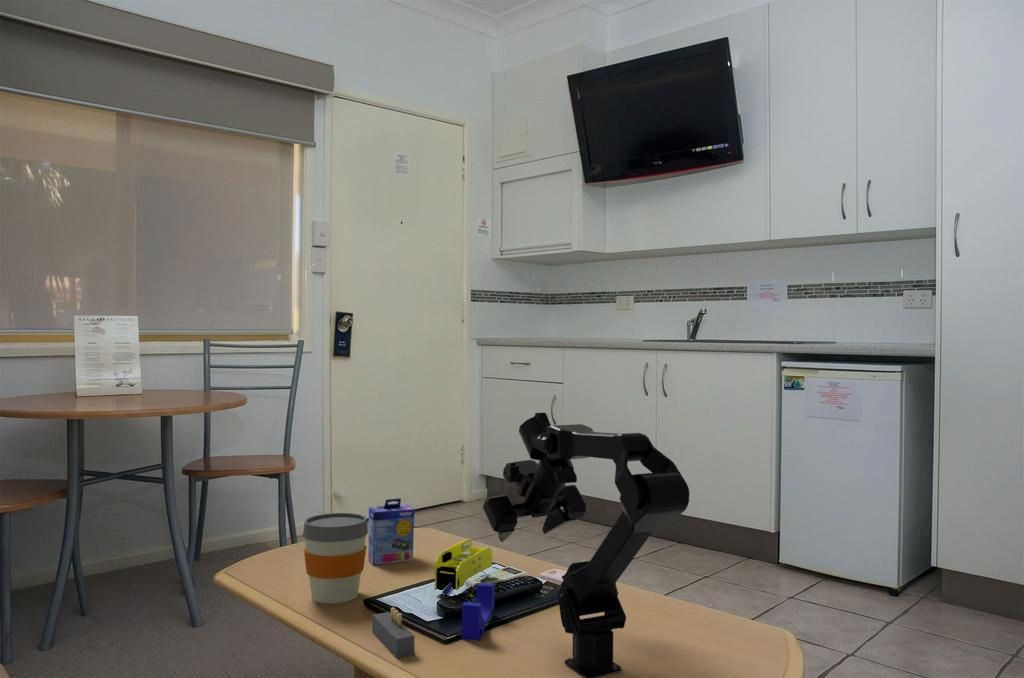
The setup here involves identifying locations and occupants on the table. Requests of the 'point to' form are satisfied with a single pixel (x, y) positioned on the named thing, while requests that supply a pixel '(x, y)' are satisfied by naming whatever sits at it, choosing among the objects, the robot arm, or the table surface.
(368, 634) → the table surface
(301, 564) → the table surface
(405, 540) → the ink cartridge box
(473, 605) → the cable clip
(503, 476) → the robot arm
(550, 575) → the soap bar
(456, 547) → the yellow toy chassis
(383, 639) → the header strip
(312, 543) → the reusable coffee cup
